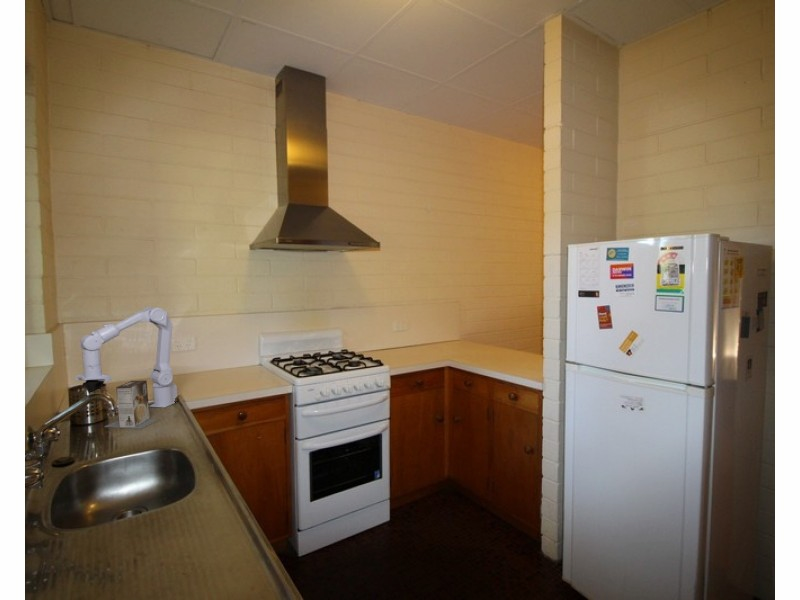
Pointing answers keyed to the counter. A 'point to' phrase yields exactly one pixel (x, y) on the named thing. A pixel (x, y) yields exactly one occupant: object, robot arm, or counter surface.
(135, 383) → the coffee box
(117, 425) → the mat
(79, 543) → the counter surface
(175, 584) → the counter surface
